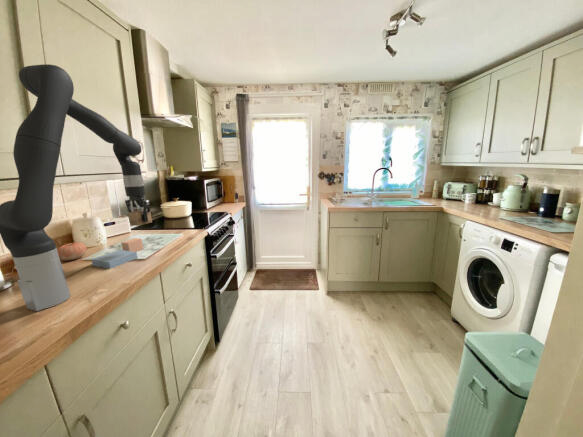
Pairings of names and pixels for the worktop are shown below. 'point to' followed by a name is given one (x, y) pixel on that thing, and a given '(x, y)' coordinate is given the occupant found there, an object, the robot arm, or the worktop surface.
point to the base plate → (114, 259)
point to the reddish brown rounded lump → (71, 251)
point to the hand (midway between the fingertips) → (141, 221)
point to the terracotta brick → (132, 245)
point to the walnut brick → (138, 218)
